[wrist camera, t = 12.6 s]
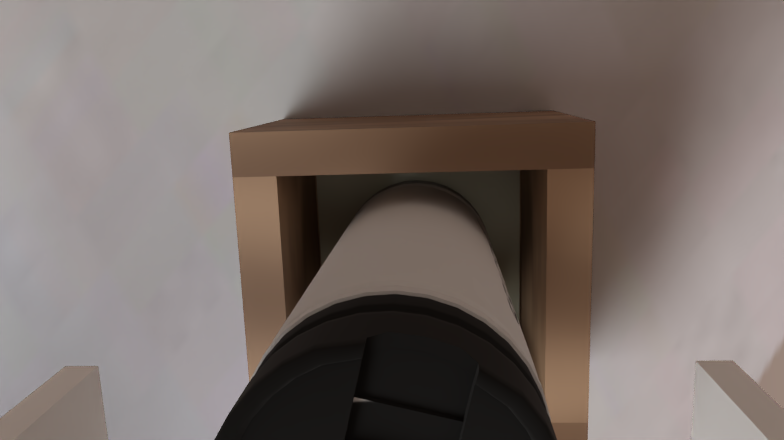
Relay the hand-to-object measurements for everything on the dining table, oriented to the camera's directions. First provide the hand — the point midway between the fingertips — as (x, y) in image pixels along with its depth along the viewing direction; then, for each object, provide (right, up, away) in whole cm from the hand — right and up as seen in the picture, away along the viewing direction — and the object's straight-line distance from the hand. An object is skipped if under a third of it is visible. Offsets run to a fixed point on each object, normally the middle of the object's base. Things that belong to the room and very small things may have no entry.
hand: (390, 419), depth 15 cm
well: (+1, +3, +16) cm, 17 cm away
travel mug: (+1, +3, +15) cm, 16 cm away
